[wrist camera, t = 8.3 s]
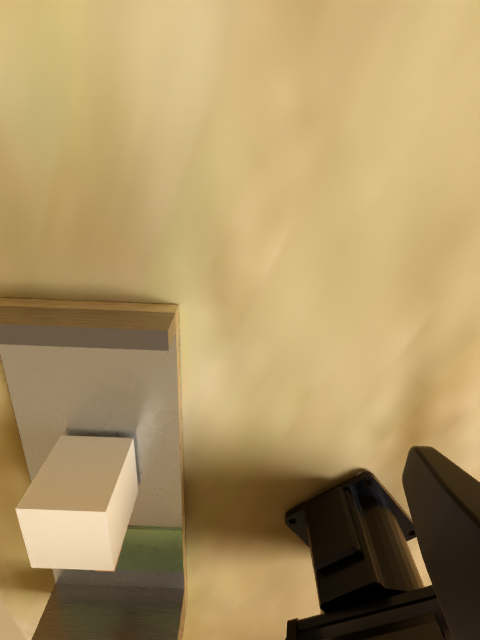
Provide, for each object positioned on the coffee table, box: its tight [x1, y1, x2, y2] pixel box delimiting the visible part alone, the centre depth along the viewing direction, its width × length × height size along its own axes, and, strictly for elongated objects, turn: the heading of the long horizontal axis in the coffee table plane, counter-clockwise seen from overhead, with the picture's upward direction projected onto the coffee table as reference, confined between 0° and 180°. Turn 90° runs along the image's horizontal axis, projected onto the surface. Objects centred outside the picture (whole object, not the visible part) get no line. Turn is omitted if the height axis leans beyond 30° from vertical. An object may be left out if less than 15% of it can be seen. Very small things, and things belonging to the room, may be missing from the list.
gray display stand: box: [0, 298, 187, 640], centre depth 23 cm, size 24×9×6 cm, turn 178°
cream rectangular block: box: [15, 435, 138, 572], centre depth 22 cm, size 9×4×5 cm, turn 178°
